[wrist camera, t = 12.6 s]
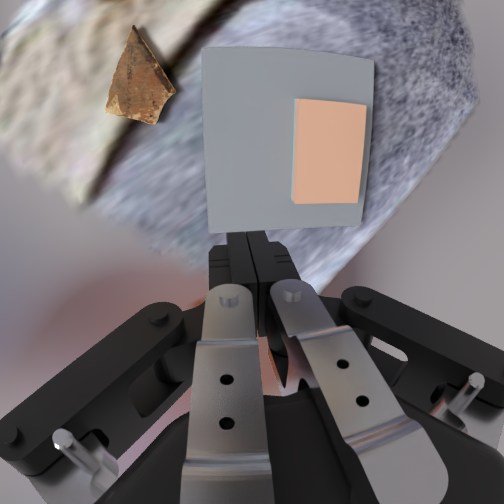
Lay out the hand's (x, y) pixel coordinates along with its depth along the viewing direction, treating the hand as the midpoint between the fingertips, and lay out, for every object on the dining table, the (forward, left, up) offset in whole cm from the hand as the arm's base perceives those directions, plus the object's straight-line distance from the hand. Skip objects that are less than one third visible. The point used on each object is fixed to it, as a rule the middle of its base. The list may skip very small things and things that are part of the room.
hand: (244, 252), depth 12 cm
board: (-1, +8, -24) cm, 26 cm away
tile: (0, +8, -22) cm, 23 cm away
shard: (-9, -10, -25) cm, 28 cm away
